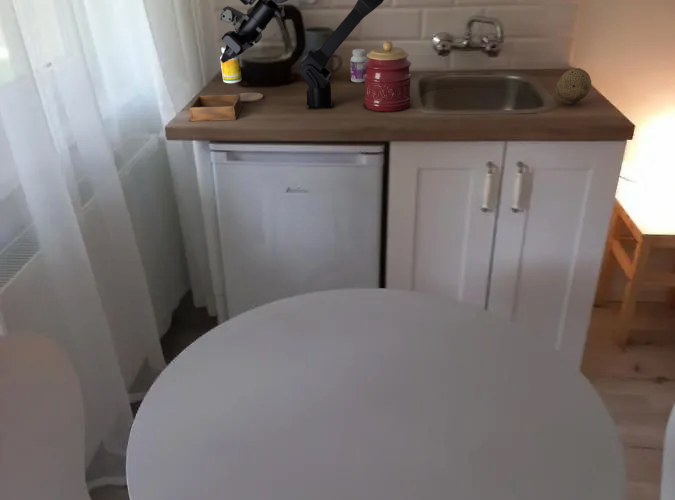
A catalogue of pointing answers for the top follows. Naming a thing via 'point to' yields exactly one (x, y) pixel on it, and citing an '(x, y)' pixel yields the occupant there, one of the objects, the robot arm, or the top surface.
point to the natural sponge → (573, 85)
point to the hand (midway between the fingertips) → (225, 59)
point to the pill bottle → (358, 65)
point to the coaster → (250, 97)
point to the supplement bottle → (231, 69)
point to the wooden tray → (215, 107)
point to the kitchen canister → (387, 79)
